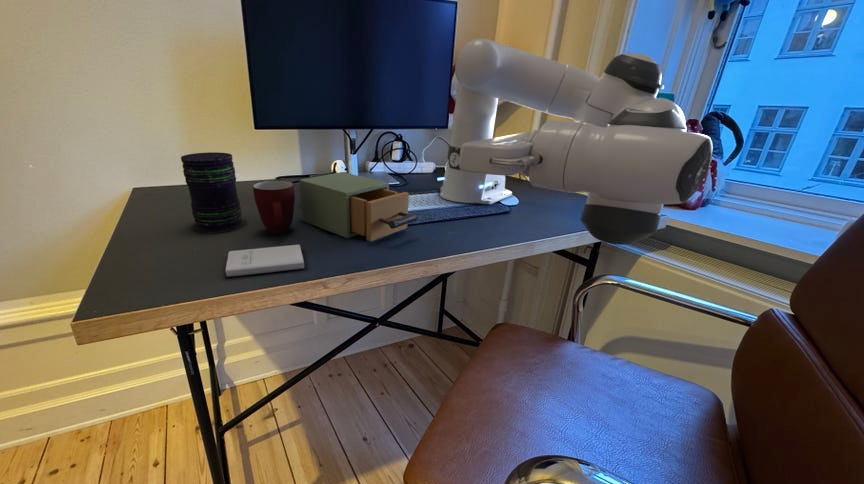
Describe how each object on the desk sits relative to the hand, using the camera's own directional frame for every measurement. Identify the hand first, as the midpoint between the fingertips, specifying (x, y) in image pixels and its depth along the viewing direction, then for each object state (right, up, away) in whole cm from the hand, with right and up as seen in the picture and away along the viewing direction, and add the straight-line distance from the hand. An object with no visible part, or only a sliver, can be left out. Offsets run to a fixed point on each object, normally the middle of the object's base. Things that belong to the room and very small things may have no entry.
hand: (466, 146), depth 58 cm
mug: (-35, -12, +20) cm, 42 cm away
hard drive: (-34, -19, +6) cm, 39 cm away
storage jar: (-50, -10, +23) cm, 56 cm away
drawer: (-16, -11, +21) cm, 28 cm away
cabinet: (-22, -9, +27) cm, 36 cm away
